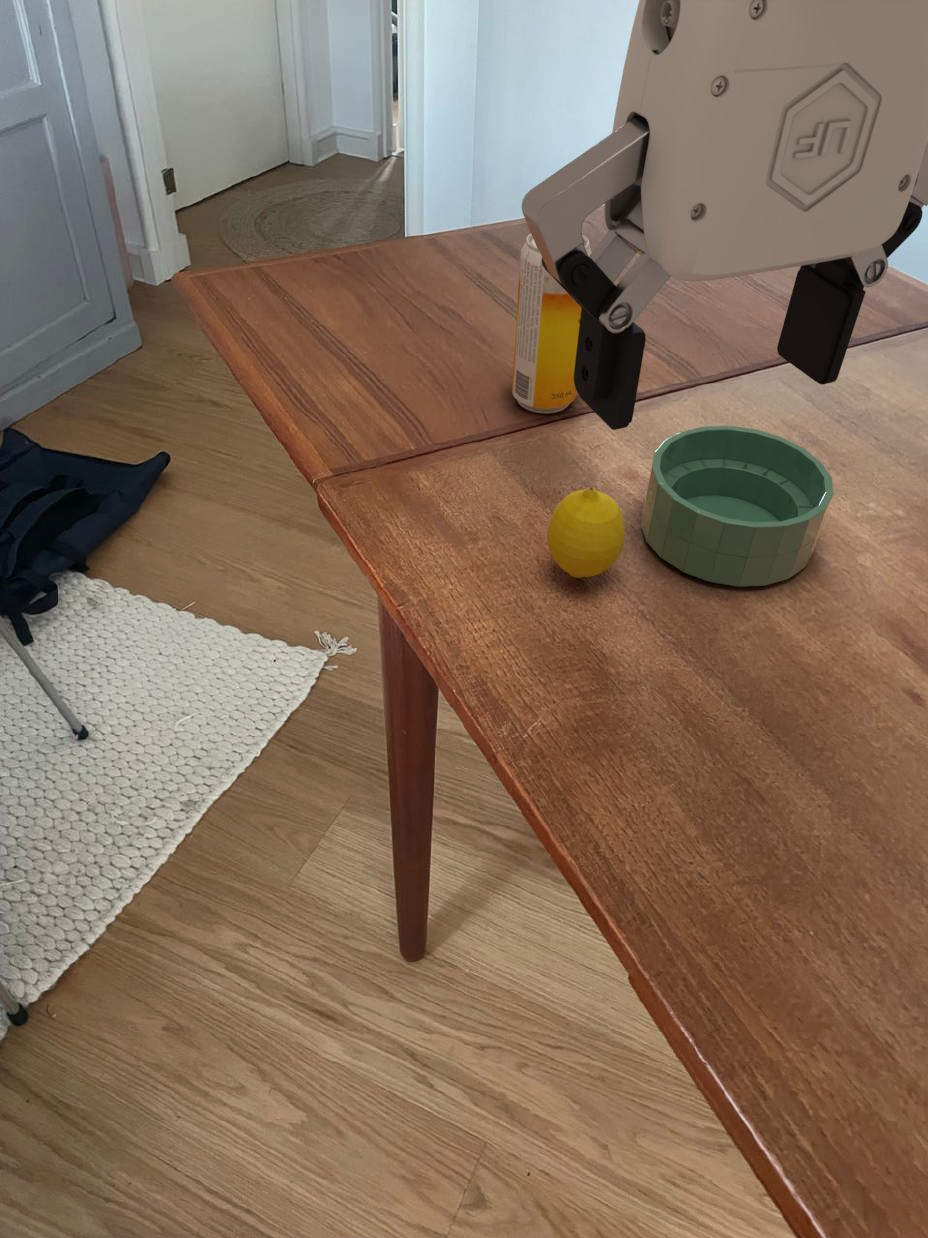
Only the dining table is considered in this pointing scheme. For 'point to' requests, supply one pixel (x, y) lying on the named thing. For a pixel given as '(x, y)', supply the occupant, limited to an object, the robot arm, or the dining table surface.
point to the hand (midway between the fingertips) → (707, 389)
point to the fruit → (586, 533)
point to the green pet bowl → (735, 505)
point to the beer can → (544, 337)
